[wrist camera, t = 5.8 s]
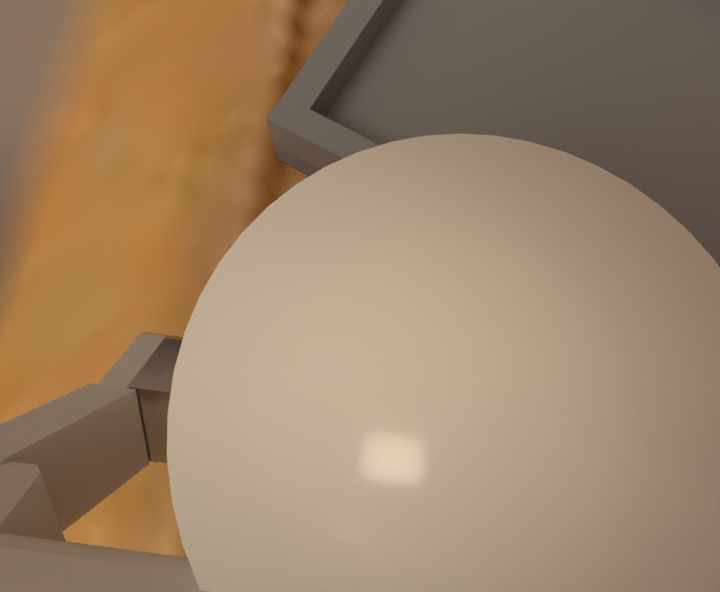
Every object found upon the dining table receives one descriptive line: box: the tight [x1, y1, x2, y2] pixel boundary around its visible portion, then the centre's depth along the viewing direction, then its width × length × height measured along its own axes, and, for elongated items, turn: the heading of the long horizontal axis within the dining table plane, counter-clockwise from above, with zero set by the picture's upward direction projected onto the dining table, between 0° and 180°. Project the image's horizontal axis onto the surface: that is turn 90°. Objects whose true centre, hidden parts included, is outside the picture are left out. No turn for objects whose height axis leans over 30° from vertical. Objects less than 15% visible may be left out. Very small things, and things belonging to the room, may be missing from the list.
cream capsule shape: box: [167, 134, 720, 592], centre depth 10 cm, size 6×6×11 cm
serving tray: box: [267, 0, 720, 267], centre depth 17 cm, size 18×16×2 cm
